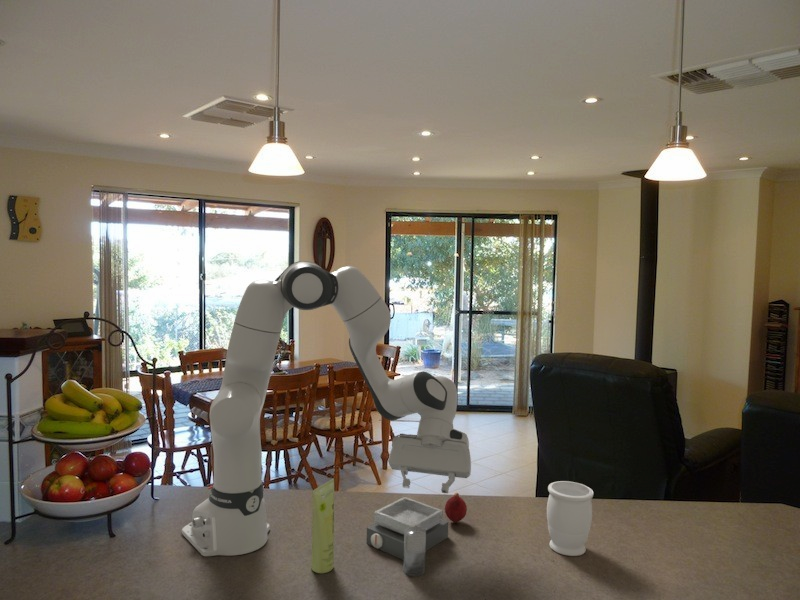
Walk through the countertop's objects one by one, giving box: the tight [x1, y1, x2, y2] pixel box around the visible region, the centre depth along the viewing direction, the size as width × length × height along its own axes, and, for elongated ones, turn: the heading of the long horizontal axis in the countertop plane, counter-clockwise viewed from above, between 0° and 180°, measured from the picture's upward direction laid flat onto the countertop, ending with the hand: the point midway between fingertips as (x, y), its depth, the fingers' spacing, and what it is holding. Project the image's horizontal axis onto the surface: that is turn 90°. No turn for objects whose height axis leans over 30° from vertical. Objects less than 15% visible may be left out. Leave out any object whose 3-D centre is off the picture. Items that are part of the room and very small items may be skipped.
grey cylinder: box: [402, 527, 426, 578], centre depth 130 cm, size 5×5×9 cm
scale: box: [366, 519, 449, 561], centre depth 144 cm, size 13×17×4 cm
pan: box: [373, 496, 444, 535], centre depth 144 cm, size 12×12×3 cm
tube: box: [310, 478, 335, 574], centre depth 129 cm, size 6×5×20 cm
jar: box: [546, 480, 594, 557], centre depth 142 cm, size 11×10×15 cm
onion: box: [444, 492, 468, 524], centre depth 154 cm, size 6×6×8 cm
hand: (425, 489), depth 139 cm, fingers open, 8 cm apart
